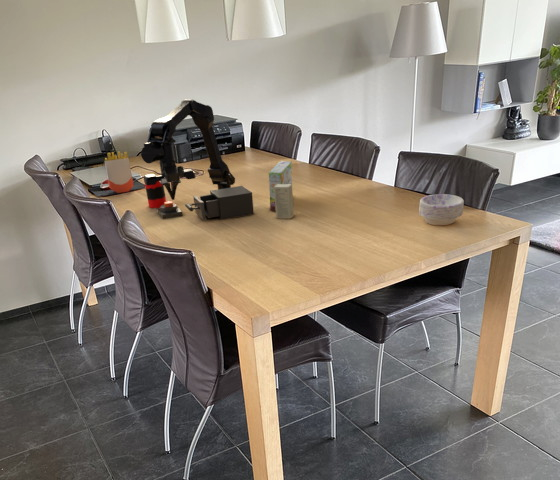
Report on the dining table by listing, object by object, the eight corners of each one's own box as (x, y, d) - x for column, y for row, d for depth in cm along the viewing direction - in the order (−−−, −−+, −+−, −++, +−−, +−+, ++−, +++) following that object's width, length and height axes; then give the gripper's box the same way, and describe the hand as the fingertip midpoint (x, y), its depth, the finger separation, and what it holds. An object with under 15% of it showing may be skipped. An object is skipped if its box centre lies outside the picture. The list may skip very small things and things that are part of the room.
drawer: (192, 222, 221) (189, 204, 217) (185, 214, 230) (182, 197, 226) (233, 215, 226) (231, 197, 222) (225, 208, 235) (223, 191, 231)
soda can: (170, 204, 248) (165, 175, 242) (160, 209, 242) (155, 180, 236) (155, 203, 251) (150, 174, 245) (145, 207, 245) (140, 179, 239)
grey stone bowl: (437, 231, 198) (439, 208, 194) (409, 220, 210) (411, 198, 205) (471, 222, 203) (473, 200, 199) (442, 212, 215) (444, 191, 211)
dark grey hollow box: (221, 219, 224) (218, 197, 219) (212, 212, 234) (209, 190, 230) (253, 214, 228) (252, 192, 223) (243, 206, 238) (242, 185, 233)
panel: (158, 212, 238) (156, 204, 236) (176, 209, 240) (175, 201, 238) (163, 219, 230) (161, 210, 228) (182, 215, 232) (181, 207, 230)
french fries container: (110, 192, 273) (101, 152, 263) (132, 188, 276) (125, 149, 267) (111, 194, 269) (103, 154, 260) (134, 190, 273) (127, 150, 263)
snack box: (283, 211, 229) (281, 172, 221) (269, 211, 230) (267, 172, 222) (293, 196, 247) (291, 160, 239) (280, 196, 248) (278, 160, 240)
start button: (163, 206, 234) (162, 202, 233) (172, 204, 235) (171, 200, 234) (165, 208, 231) (164, 204, 230) (174, 207, 232) (173, 202, 231)
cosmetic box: (294, 215, 223) (292, 183, 217) (290, 219, 220) (289, 186, 213) (279, 215, 225) (277, 183, 219) (275, 218, 222) (273, 186, 215)
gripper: (145, 165, 204) (153, 208, 212) (196, 157, 209) (201, 200, 217) (140, 159, 213) (147, 201, 221) (188, 152, 218) (194, 194, 226)
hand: (173, 199), depth 221 cm, fingers closed
